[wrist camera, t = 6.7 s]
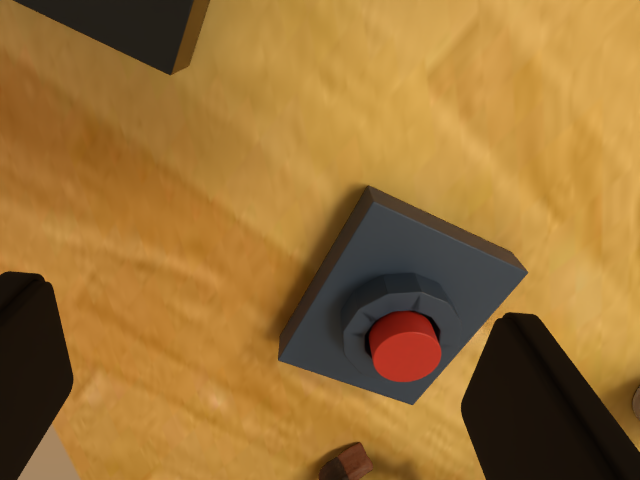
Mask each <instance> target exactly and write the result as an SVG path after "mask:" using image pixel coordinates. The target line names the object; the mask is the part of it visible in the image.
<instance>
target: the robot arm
mask: <svg viewBox="0 0 640 480" xmlns="http://www.w3.org/2000/svg"><path fill="white" fill-rule="evenodd" d="M72 386H73V373H72V368H71V364H70V360H69V355H68V351H67V346H66V342H65V338H64V333H63V329H62V325H61V320H60V316H59V311H58V307H57V303H56V298H55V294H54V290H53V287H52V284H51V283H49V282H45V280H44V278H43V277H42V275H40V274H35V273H23V272H11V271H9V272H4V273H3V274H1V275H0V480H17V479H18V477H19V476H20V474H21V472H22V471H23V469H24V468H25V466H26V464H27V463H28V461H29V459H30V458H31V456H32V455H33V453H34V451H35V450H36V448H37V446H38V445H39V443H40V442H41V440H42V438H43V436H44V435H45V433H46V432H47V430H48V428H49V427H50V425H51V424H52V422H53V420H54V419H55V417H56V415H57V414H58V412H59V410H60V409H61V407H62V406H63V404H64V402H65V401H66V399H67V397H68V396H69V394H70V392H71V389H72ZM461 413H462V417H463V420H464V423H465V426H466V428H467V431H468V433H469V436H470V439H471V441H472V444H473V447H474V449H475V452H476V454H477V457H478V460H479V462H480V465H481V468H482V470H483V473H484V476H485V478H486V480H640V452H639V451H638V449H637V448H636V447H635V445H634V444H633V443H632V441H631V440H630V439H629V437H628V436H627V435H626V433H625V432H624V431H623V429H622V428H621V427H620V425H619V424H618V423H617V421H616V420H615V419H614V417H613V416H612V415H611V413H610V412H609V411H608V409H607V408H606V407H605V405H604V404H603V403H602V401H601V400H600V399H599V397H598V396H597V395H596V393H595V392H594V391H593V389H592V388H591V387H590V385H589V384H588V383H587V381H586V380H585V379H584V377H583V376H582V375H581V373H580V372H579V371H578V369H577V368H576V367H575V365H574V364H573V363H572V361H571V360H570V359H569V357H568V356H567V355H566V353H565V352H564V351H563V349H562V348H561V347H560V345H559V344H558V343H557V341H556V340H555V338H554V337H553V336H552V334H551V333H550V332H549V330H548V329H547V328H546V326H545V325H544V324H543V322H542V321H541V320H540V319H539V318H538V317H537V316H536V315H534V314H524V313H512V312H509V313H506V314H505V315H504V316H503V317H502V318H499V319H497V320H496V321H495V323H494V325H493V328H492V330H491V332H490V335H489V337H488V340H487V342H486V344H485V347H484V349H483V352H482V354H481V356H480V359H479V361H478V364H477V366H476V368H475V371H474V373H473V376H472V378H471V380H470V383H469V385H468V388H467V390H466V392H465V395H464V397H463V399H462V403H461Z"/></svg>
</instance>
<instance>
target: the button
mask: <svg viewBox="0 0 640 480" xmlns="http://www.w3.org/2000/svg"><path fill="white" fill-rule="evenodd" d="M369 344H370V349H371V354H372V360H373V365H374V367H375V369H376V371H377V372H378V373H379V374H380V375H381V376H383V377H384V378H386V379H389V380H392V381H396V382H410V381H415V380H418V379H421V378H423V377H425V376H427V375H428V374H430V373H431V372H432V371H433V370H434V369H435V368H436V367H437V366H438V364H439V362H440V359H441V348H440V345H439V342H438V340H437V337H436V335H435V332H434V330H433V327H432V324H431V323H430V321H429V320H428V319H427V318H426V317H425V316H423V315H421V314H419V313H417V312H413V311H396V312H392V313H389V314H387V315H385V316H383V317H381V318H380V319H379V320H378V321H377V322H375V324H374V325H373V326H372V328H371V330H370V333H369Z"/></svg>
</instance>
